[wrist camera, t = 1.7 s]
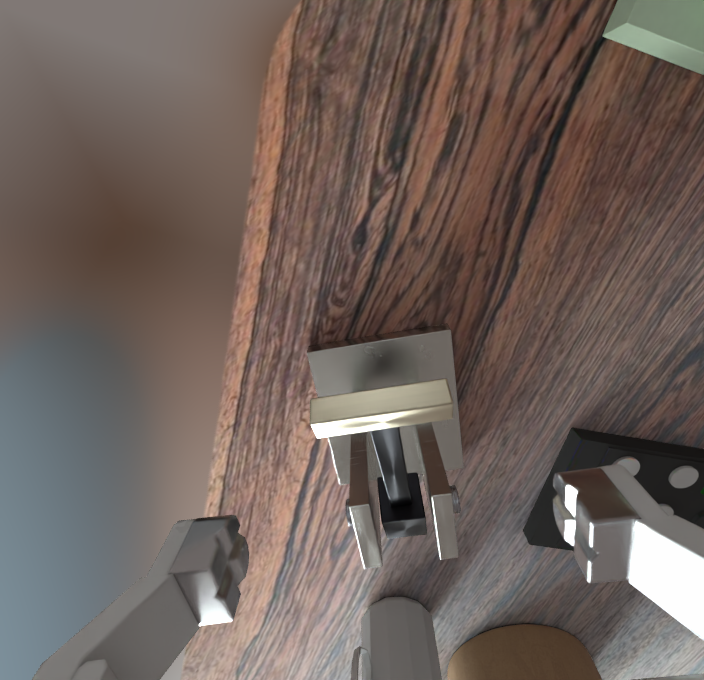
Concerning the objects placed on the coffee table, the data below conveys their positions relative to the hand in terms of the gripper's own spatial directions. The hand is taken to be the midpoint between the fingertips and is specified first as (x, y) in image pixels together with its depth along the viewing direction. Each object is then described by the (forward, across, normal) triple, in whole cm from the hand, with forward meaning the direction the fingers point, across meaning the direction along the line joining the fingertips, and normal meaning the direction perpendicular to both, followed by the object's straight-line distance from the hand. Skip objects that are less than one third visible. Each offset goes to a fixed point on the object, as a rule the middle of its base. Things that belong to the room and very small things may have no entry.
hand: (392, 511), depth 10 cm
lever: (+8, 0, +4) cm, 9 cm away
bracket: (+19, 0, +9) cm, 21 cm away
